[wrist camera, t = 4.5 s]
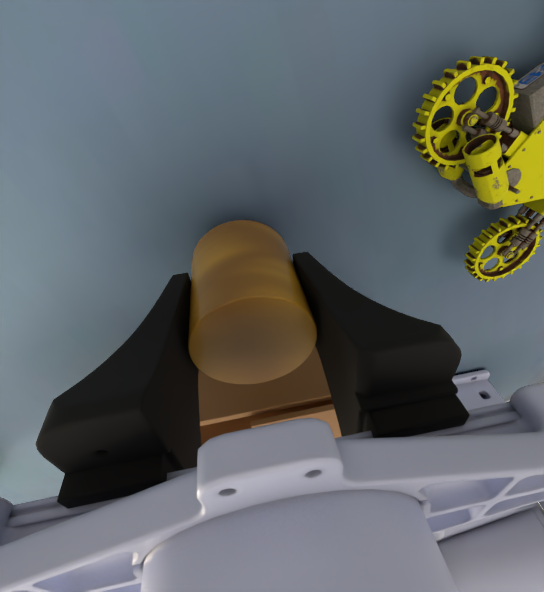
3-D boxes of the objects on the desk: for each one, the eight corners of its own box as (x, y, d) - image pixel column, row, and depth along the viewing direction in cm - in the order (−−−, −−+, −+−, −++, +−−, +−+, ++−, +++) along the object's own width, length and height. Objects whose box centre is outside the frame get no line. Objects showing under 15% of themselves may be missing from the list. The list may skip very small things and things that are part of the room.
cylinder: (285, 211, 14) (317, 284, 10) (291, 291, 16) (318, 372, 13) (179, 228, 13) (170, 311, 10) (205, 307, 16) (205, 394, 12)
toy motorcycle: (430, 120, 11) (675, -69, 9) (379, 100, 13) (552, -45, 11) (499, 311, 18) (642, 231, 16) (456, 270, 21) (571, 199, 19)
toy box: (182, 424, 27) (177, 525, 21) (132, 337, 20) (106, 455, 14) (332, 394, 28) (364, 484, 22) (337, 299, 20) (384, 398, 15)
